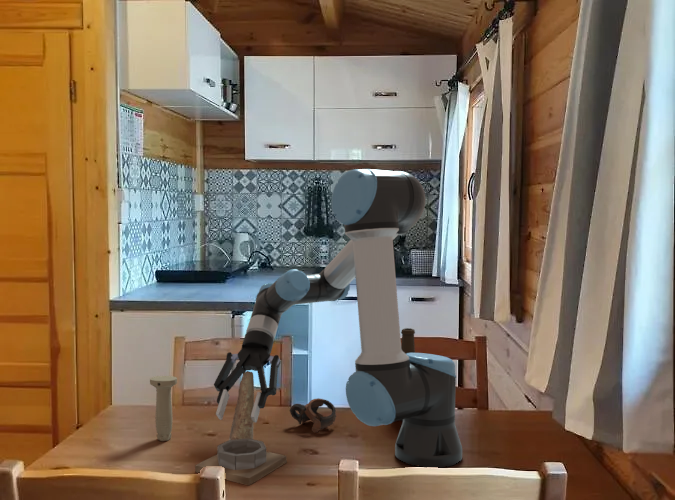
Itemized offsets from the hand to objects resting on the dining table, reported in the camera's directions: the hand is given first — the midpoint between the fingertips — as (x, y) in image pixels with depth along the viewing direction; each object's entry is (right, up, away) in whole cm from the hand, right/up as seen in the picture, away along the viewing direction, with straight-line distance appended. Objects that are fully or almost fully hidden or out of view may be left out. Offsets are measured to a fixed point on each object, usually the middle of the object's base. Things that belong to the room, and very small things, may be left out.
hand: (236, 418), depth 153 cm
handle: (-18, -7, +6) cm, 21 cm away
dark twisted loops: (+17, -7, +16) cm, 24 cm away
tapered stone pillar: (+1, -7, +4) cm, 8 cm away
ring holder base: (+3, -8, -11) cm, 14 cm away
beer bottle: (+43, -6, +24) cm, 49 cm away
